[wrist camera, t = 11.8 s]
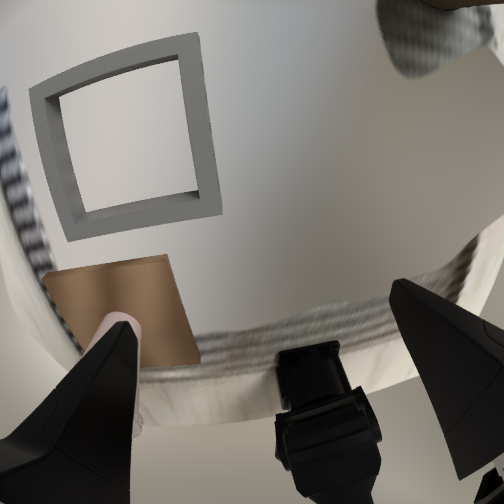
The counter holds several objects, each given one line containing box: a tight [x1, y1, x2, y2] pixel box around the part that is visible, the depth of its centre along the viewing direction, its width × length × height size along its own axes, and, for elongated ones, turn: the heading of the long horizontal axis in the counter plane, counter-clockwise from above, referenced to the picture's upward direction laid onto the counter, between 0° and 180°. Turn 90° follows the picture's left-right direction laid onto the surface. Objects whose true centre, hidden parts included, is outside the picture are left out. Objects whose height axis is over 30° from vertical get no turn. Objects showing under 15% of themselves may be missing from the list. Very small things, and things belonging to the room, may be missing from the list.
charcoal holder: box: [29, 32, 222, 242], centre depth 16 cm, size 11×11×2 cm
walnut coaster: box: [42, 254, 201, 367], centre depth 23 cm, size 12×12×1 cm
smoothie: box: [82, 312, 143, 438], centre depth 17 cm, size 6×6×14 cm
